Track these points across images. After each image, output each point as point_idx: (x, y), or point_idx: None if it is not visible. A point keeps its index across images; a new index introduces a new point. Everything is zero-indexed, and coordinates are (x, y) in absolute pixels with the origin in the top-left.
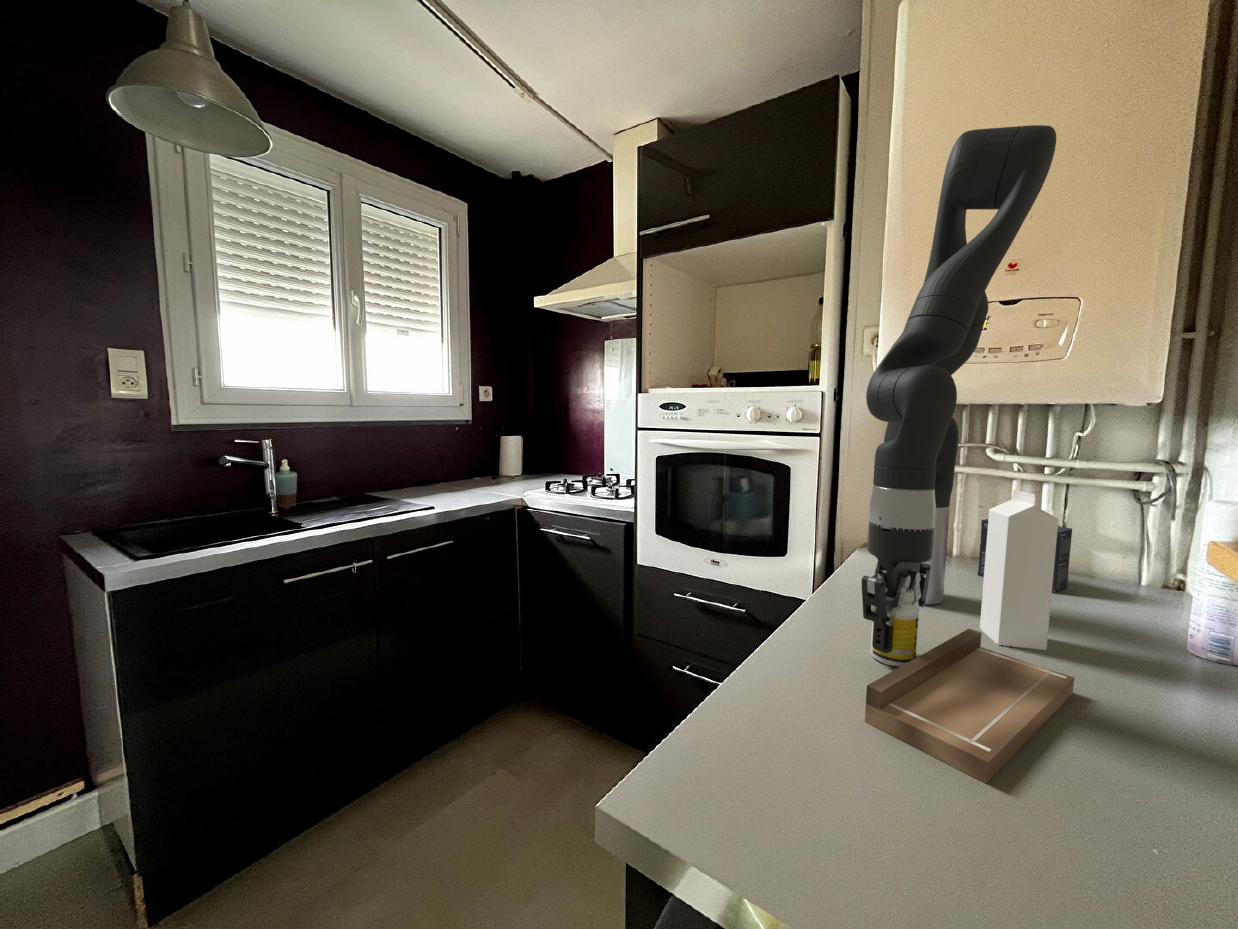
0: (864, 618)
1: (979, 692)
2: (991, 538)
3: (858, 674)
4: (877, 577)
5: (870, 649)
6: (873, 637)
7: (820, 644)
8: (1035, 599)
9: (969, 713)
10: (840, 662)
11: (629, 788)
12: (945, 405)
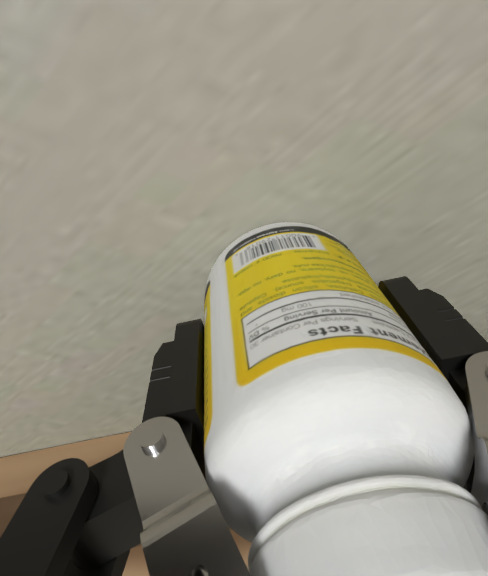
0: (51, 467)
1: (235, 537)
2: None
3: (65, 327)
4: None
5: (224, 257)
6: (151, 375)
7: (72, 59)
8: None
9: (127, 568)
10: (55, 245)
11: None
12: None
